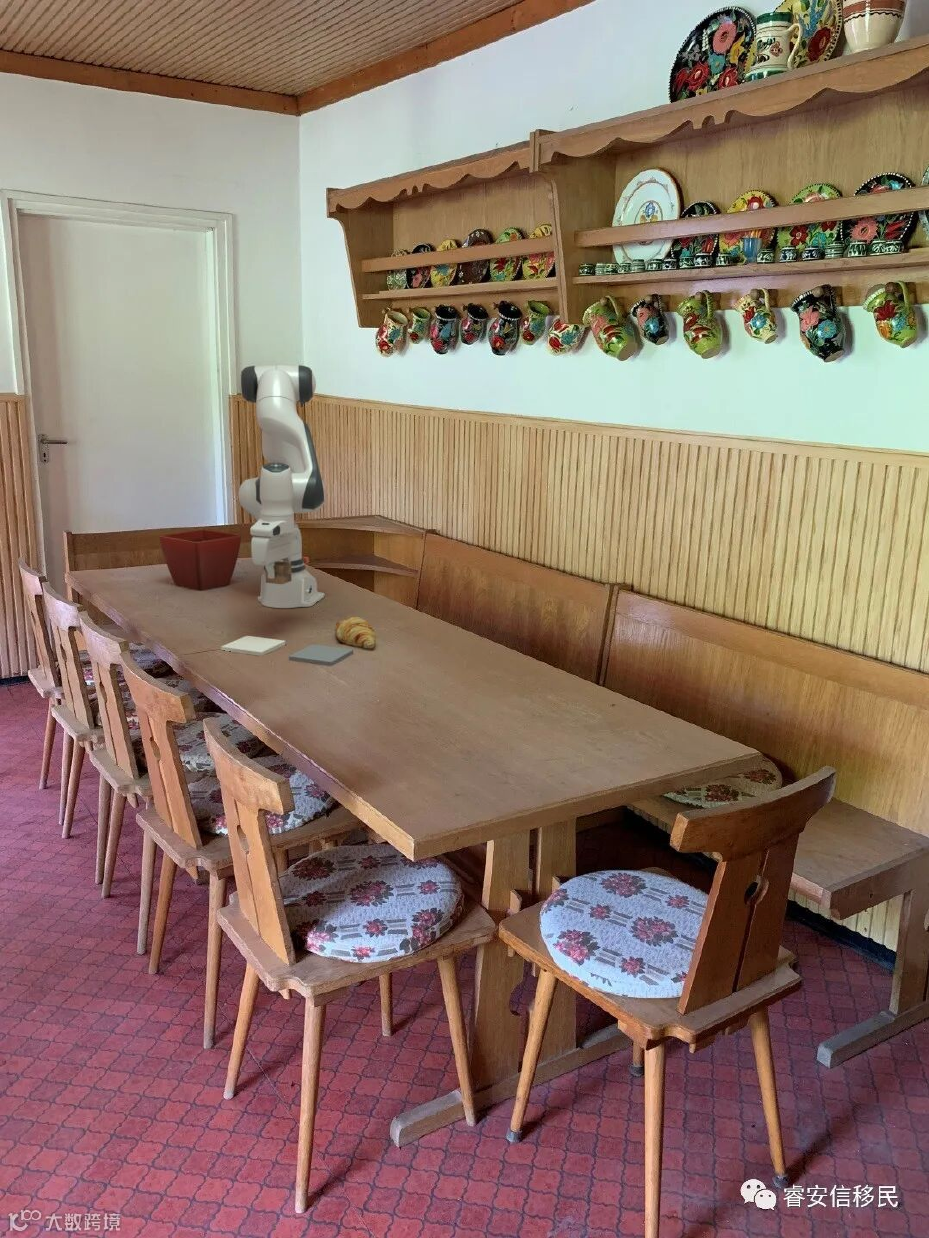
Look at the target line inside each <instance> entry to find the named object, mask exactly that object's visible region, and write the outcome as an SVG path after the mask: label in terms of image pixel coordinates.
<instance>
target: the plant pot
mask: <svg viewBox="0 0 929 1238" xmlns="http://www.w3.org/2000/svg"><path fill="white" fill-rule="evenodd" d="M159 540H160V546H161V550H162V554H163V556H164V560H165V563H166V566H167V569H168V571H169V573H170V576H171V579H172V581H173V583H174V585H175V586H177V587H181V588H186V589H190V590H195V591H203V590H204V591H205V590H210V589H214V588H215V589H216V588H221V587H226V586H229V585H230V582H231V580H232V578H233V577H232V576H233V575H234V571H235V568H236V564H237V562H238V558H239V553H240V547H241V540H242V535H240V534H234V533H228V532H223V531H217V530H209V529H199V530H198V529H197V530H191V531H182V532H175V533H167V534H162V535H159Z"/></svg>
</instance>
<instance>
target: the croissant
mask: <svg viewBox="0 0 929 1238" xmlns="http://www.w3.org/2000/svg"><path fill="white" fill-rule="evenodd" d="M334 631H335V636H336V638H337V639H338V640H339V641H340V642H342V643H343V644H345V645H349V646H354V647H358V648H359V647H360V648H363V649H372V648H374V647H375V645H376V643H377V635H376V633H375V630H374V629H373V628H372V626H371V624H370V622H369V621H367V620H366V619H364V618H363V617H358V616H356V615H355V616H354V615H353V616H351V617H350V616H349V617H348V618H345V619H344V620H340V621H337V622H336V623H335V628H334Z"/></svg>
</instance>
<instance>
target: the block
mask: <svg viewBox="0 0 929 1238" xmlns="http://www.w3.org/2000/svg"><path fill="white" fill-rule="evenodd" d="M273 567H274V571H276V578H273V579H271V578H268V572H267V569H266V567H265V570H264V571H265V572H264V573H265V574H266V583H273V584H285V583H287V582H290V581H291V563H288V562H279V561H276V562H274V566H273Z"/></svg>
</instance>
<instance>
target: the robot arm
mask: <svg viewBox="0 0 929 1238" xmlns="http://www.w3.org/2000/svg"><path fill="white" fill-rule="evenodd" d="M316 386H317V382H316V377H315V375H314V373H313V370H312V369H311V368H310V367H309V366H306V365H301V364H299V365H295V364H294V365H292V364H280V363H279V364H278V363H277V364H269V365H268V364H267V365H258V366H255V365H250V366H246V367H244V368H243V369H242V370H241V372H240V376H239V378H238V387H239V388H238V389H239V391H240V393H241V397H242V398H243V399H244V400H245V401H246V402H248V403H249V402H250V403H255V404H256V405H255V406H256V407H255V408H256V410H255V411H256V420H257V424H258V426H259V428H261V448H262V450H261V451H262V456H263V458H264V459H265V460H266V462H268V463H265V464H264V465H262V466H261V470H260V476H259V477H258V476H257V477H252V478H249V479H245V480H244V481H243V482H242V483H241V484H240V486H239V489H238V496H237V497H238V501H239V504H240V505H241V508H243V510H244V511H246V512H247V513H249V515H251V516H252V517H253V518H254V519H255V521H256V522H255V523H254V524H252V526H251V527H250V529H249V530H250V531H249V532H250V535H251V536H252V538H251V541H250V543H251V545H250V550H251V551H250V553H251V561H252V563H253V564H254V565H256V566H263V569H264V571H265V567H266V569H267V572H268V578H271V579H273V578H276V571H274V567H273V566H274V562H276V561H279V562H288V563H291V581H290V582H287V583H285V584H273V583H266V574H265V572H264V573H262V575H261V581H260V582H261V583H260V596H258V597H257V601H258V602H260V604H261V605H263V606H264V607H267V608H268V607H269V608H274V609H291V608H301V607H302V608H305V607H312V606H313V605H315V604H317V603H318V602H319V601H321V600H322V599H323V598H325V597H324V596H325V593H324V592H321V591H318V583H317V578H315V577H314V576H313V575H312V574H311V573H310V572H309V571H308V570H307V569H306V565H305V564H309V562H310V559H309V557H308V556H303V555H302V554H303V552H302V551H303V550H302V549H303V545H302V538H303V537H302V534H301V529H300V528H299V525H298V523H297V522H296V521H295V514H307V513H312V512H316V511H320V510H321V508H322V507H323V506H324V504H325V501H326V496H327V495H326V486H325V483H324V480H323V478H322V474H321V472H320V468H319V463H318V459H317V458H318V457H317V454H316V448H315V445H314V440H313V437H312V434H311V430H310V427H309V425H308V423H307V422H306V421H304V420H302V418H301V417H300V416H299V414H298V411H297V404H298V403H300V408H303V407H304V404H306V403H309V402H310V400H312V398H313V397H314V394H315V393H316ZM317 601H318V602H317ZM316 602H317V603H316Z"/></svg>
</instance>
